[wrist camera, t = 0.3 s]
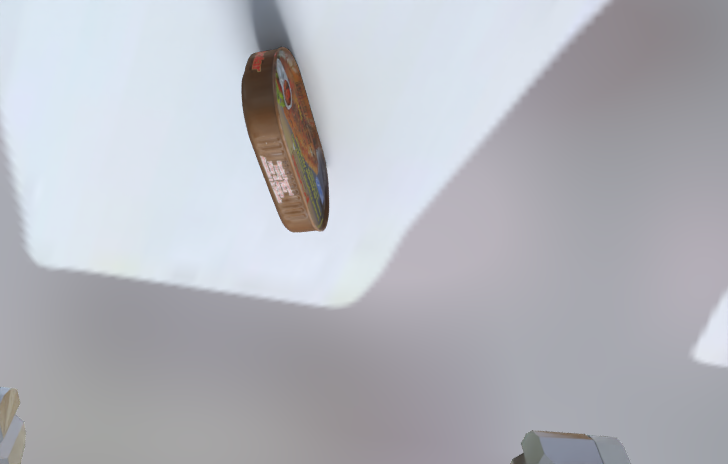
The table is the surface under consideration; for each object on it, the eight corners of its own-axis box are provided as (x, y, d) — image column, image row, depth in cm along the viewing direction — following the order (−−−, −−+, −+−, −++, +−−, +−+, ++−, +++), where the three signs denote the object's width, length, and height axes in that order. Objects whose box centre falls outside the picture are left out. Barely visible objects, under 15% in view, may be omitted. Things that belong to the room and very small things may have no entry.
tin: (333, 185, 57) (331, 252, 51) (298, 191, 57) (291, 258, 51) (287, 25, 47) (277, 83, 41) (245, 33, 47) (229, 92, 41)
